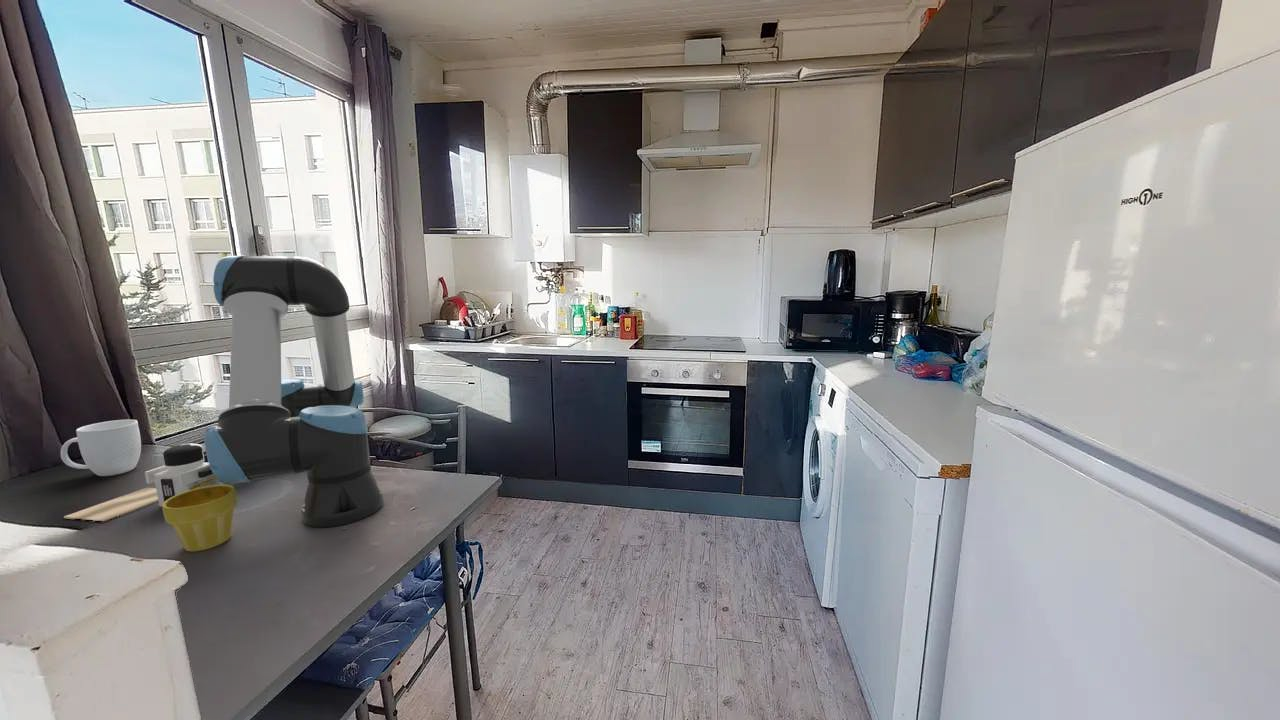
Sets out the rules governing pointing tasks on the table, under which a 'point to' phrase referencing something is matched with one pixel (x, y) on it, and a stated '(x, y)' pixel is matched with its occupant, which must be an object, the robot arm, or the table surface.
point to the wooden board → (117, 506)
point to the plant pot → (202, 516)
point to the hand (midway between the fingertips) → (163, 479)
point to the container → (180, 471)
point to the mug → (107, 447)
